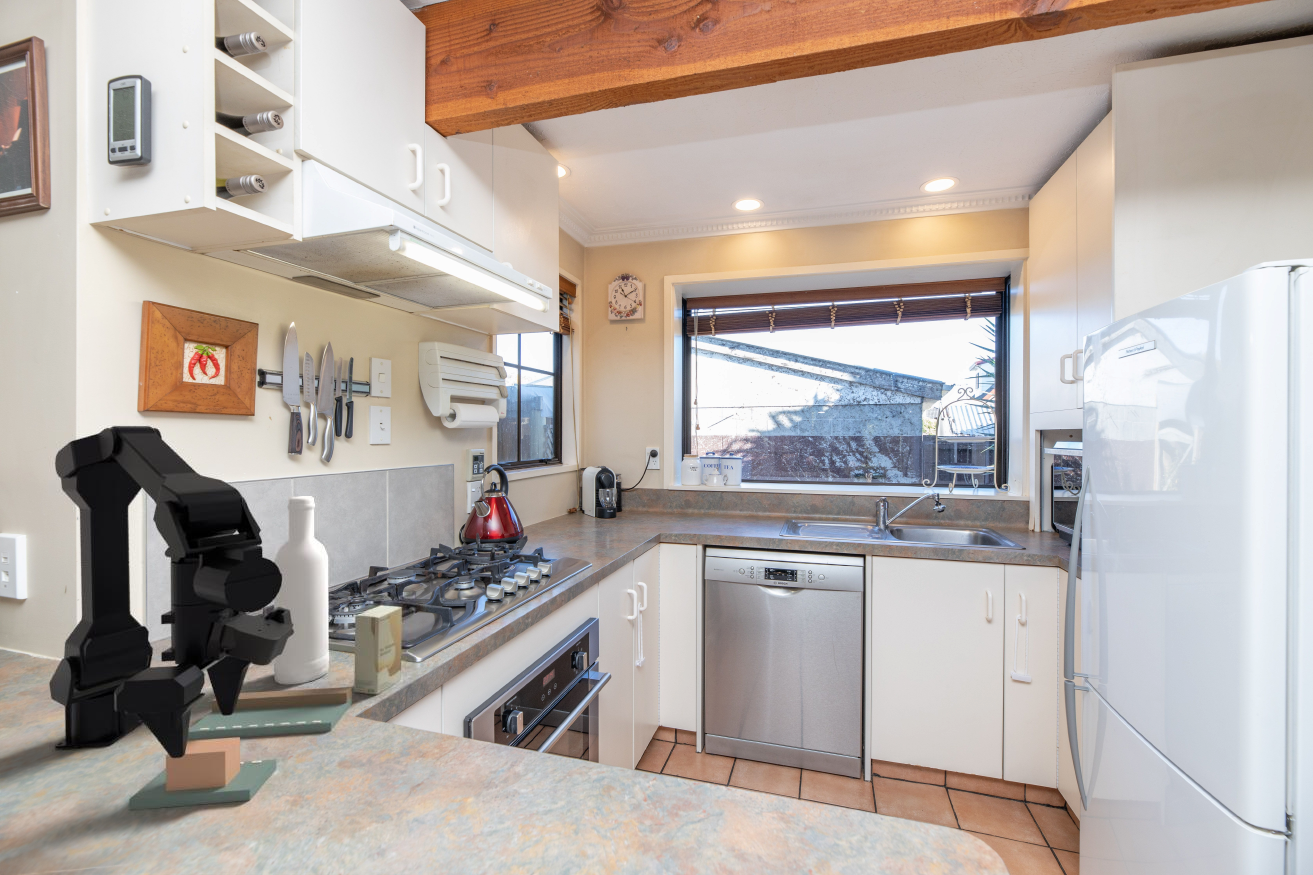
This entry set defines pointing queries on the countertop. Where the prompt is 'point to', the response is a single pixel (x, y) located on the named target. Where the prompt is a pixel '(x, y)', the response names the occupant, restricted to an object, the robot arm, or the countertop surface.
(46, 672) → the countertop surface
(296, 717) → the dashed green plate
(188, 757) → the stub
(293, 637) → the bottle
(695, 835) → the countertop surface
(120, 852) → the countertop surface
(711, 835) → the countertop surface
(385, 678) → the skincare box
